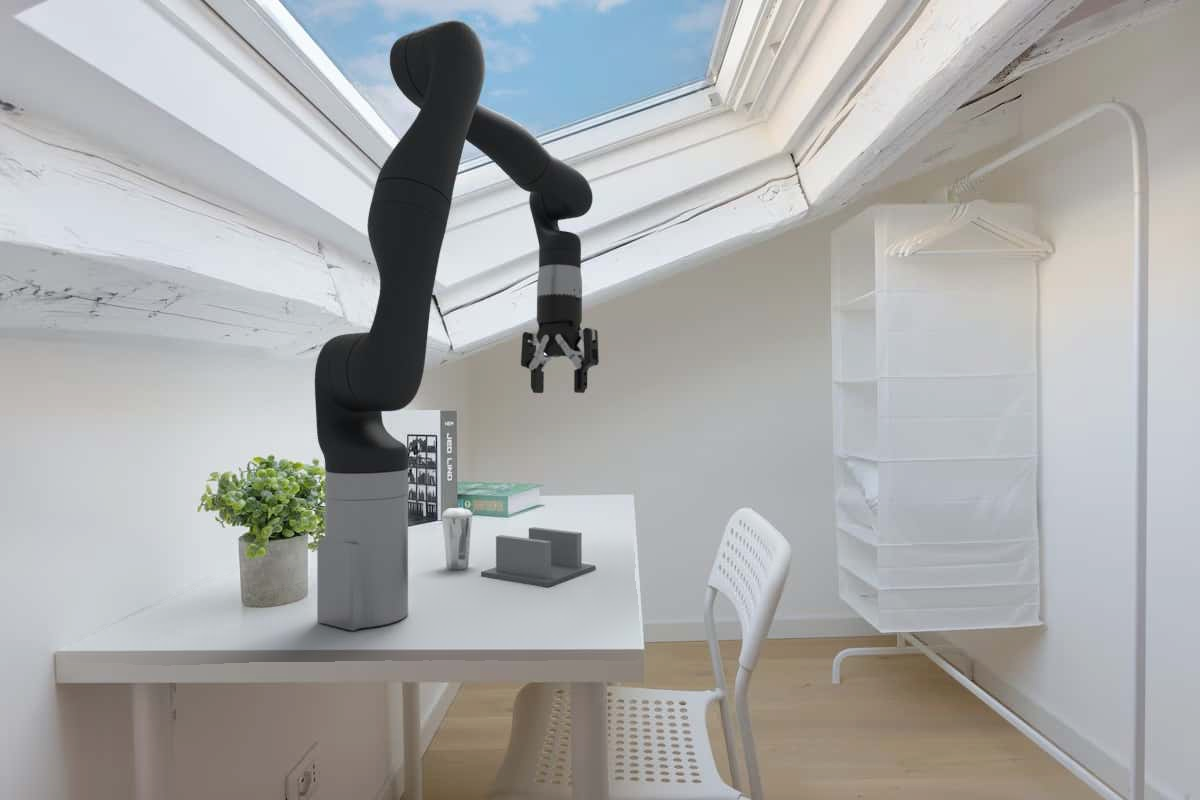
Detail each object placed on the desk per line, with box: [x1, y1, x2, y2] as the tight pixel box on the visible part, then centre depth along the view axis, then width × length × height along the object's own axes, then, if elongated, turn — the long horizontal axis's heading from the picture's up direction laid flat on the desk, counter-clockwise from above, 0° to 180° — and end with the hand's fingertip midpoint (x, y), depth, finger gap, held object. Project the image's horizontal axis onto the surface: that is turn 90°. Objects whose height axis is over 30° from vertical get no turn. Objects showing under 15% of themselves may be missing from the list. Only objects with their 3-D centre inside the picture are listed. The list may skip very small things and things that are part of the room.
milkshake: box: [441, 501, 478, 571], centre depth 108 cm, size 4×5×10 cm
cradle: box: [480, 526, 597, 588], centre depth 105 cm, size 12×12×6 cm
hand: (558, 392), depth 118 cm, fingers open, 8 cm apart
